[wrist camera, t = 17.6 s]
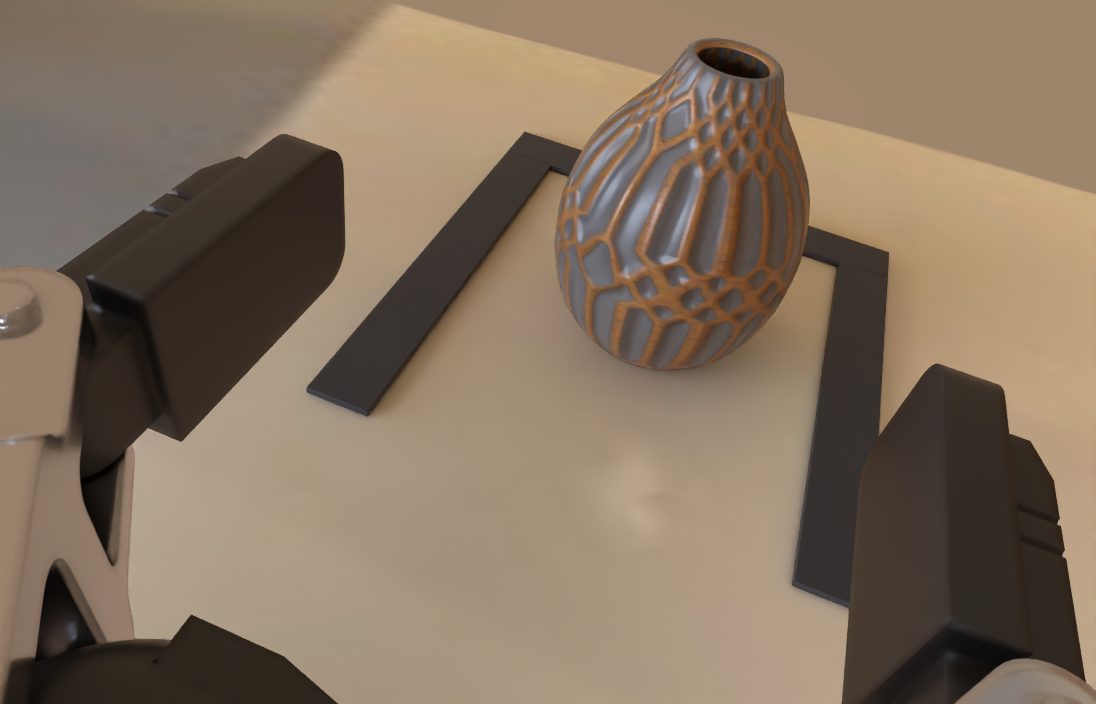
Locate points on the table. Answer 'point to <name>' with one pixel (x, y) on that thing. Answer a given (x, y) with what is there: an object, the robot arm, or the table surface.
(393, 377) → the tape u shape
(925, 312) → the table surface
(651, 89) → the vase
